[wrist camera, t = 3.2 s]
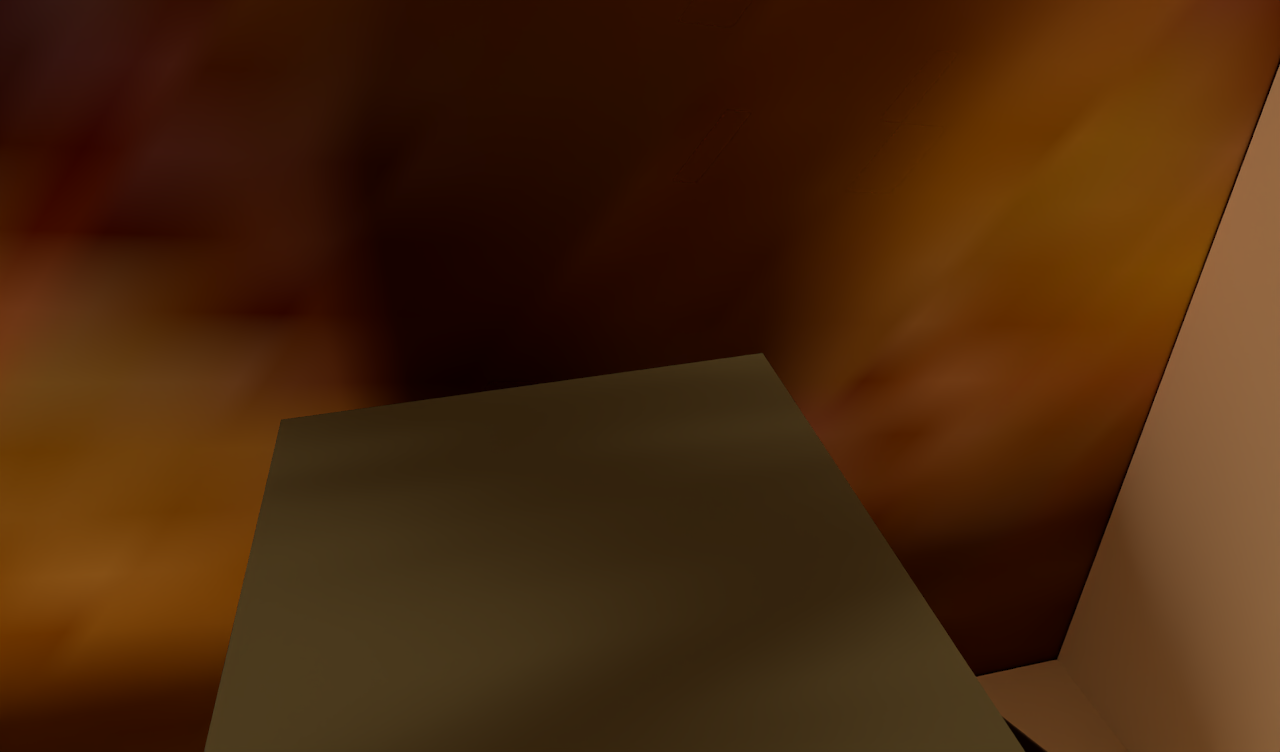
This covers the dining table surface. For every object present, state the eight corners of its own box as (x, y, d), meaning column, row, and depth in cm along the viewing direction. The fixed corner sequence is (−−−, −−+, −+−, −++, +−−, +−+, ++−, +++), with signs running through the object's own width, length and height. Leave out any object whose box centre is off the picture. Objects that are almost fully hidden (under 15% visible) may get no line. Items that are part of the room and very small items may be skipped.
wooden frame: (1408, -60, 10) (1882, -8, 7) (1093, 685, 18) (1247, 879, 15) (-973, 84, 6) (-2411, 349, 3) (-78, 947, 14) (-229, 1287, 11)
